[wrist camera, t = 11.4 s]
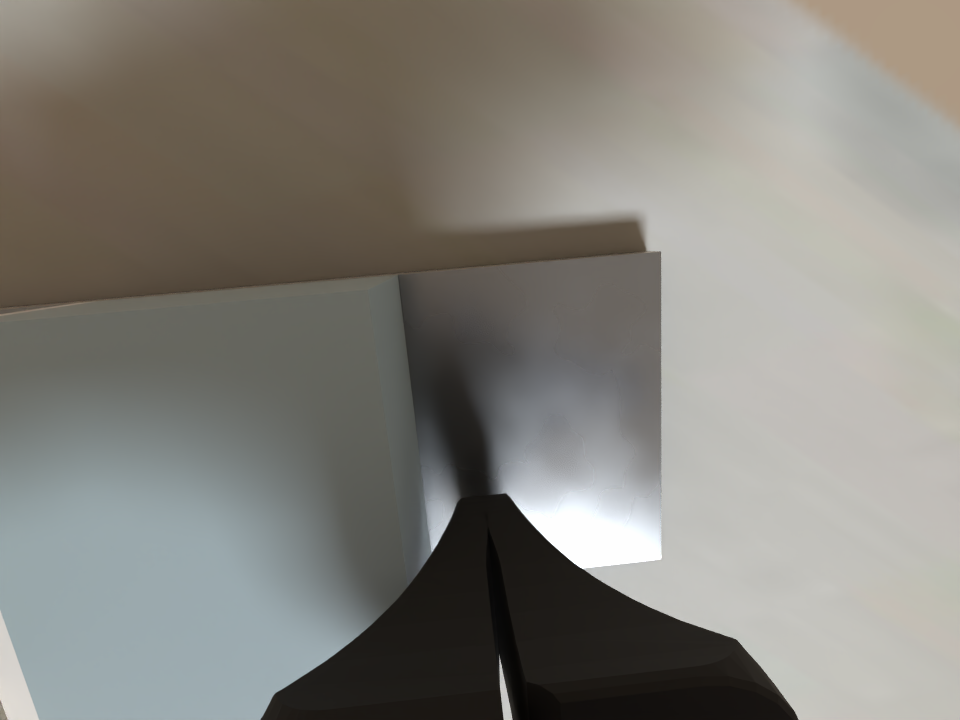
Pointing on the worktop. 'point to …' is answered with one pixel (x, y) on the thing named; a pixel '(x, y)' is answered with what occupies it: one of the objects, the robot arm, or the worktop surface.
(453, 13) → the worktop surface
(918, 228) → the worktop surface
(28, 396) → the block
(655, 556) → the base
